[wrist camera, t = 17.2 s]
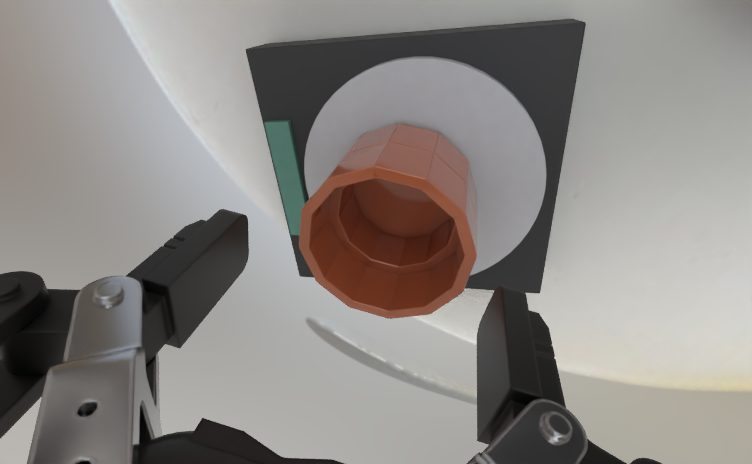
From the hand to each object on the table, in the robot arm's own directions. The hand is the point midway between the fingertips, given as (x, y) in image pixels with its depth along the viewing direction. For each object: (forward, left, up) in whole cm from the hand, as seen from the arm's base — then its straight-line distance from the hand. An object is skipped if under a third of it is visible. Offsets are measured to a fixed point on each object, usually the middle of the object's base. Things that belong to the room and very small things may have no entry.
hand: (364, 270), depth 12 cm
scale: (0, 0, -9) cm, 9 cm away
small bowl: (0, 0, -6) cm, 6 cm away
